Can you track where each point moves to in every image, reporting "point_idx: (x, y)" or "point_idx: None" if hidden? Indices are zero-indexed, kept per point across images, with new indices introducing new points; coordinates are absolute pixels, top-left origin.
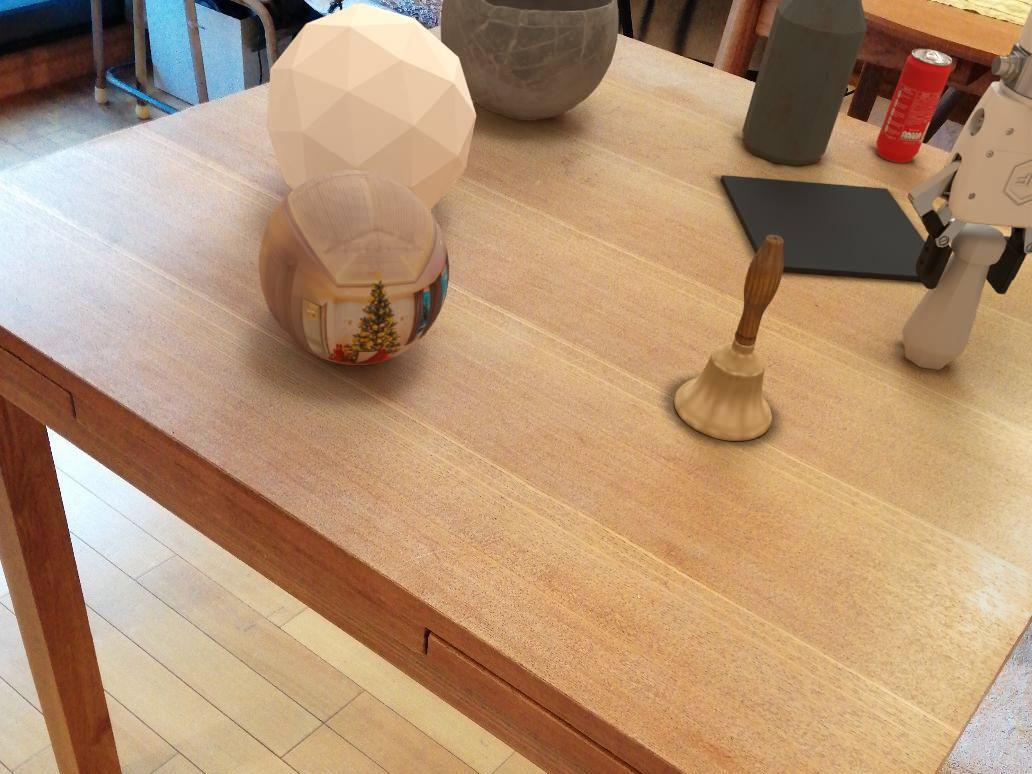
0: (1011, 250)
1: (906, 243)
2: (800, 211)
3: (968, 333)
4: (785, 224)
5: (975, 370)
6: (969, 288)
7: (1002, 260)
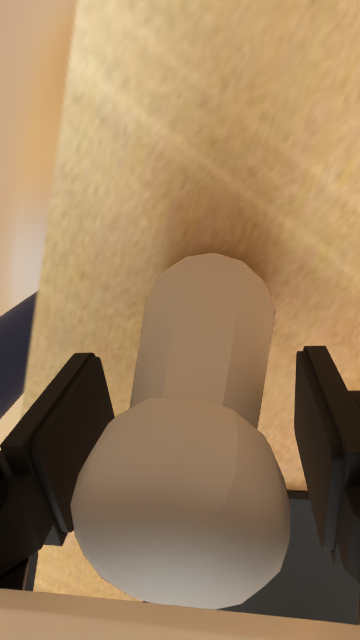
0: (49, 474)
1: None
2: (295, 606)
3: (158, 291)
4: (334, 585)
5: (124, 272)
6: (193, 347)
7: (77, 449)
